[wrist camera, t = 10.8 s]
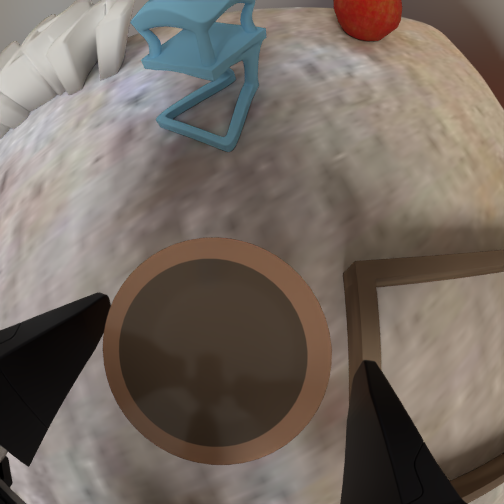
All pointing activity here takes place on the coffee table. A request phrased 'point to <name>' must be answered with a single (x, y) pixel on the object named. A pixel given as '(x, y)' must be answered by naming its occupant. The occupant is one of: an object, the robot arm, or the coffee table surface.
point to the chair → (203, 57)
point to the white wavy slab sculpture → (62, 56)
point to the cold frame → (368, 330)
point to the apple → (368, 17)
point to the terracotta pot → (217, 351)
